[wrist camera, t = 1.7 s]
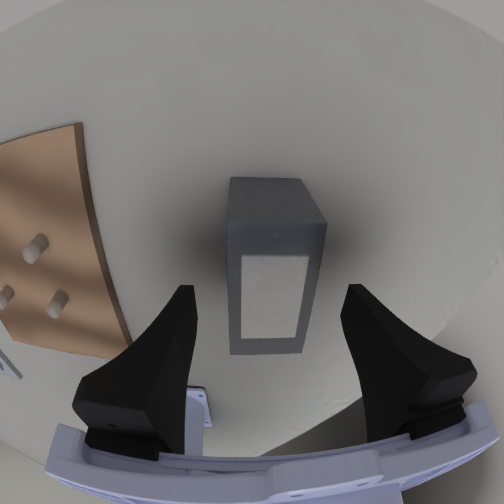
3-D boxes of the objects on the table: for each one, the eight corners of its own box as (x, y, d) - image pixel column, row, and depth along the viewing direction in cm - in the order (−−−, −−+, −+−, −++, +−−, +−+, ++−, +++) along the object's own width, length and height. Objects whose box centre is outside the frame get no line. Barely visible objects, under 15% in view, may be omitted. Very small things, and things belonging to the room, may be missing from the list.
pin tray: (136, 353, 24) (129, 379, 22) (16, 334, 23) (6, 352, 21) (81, 122, 14) (55, 131, 11) (-48, 163, 13) (-70, 175, 10)
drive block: (288, 287, 21) (301, 354, 15) (231, 287, 20) (230, 356, 15) (299, 178, 16) (327, 224, 11) (230, 176, 16) (226, 223, 11)
